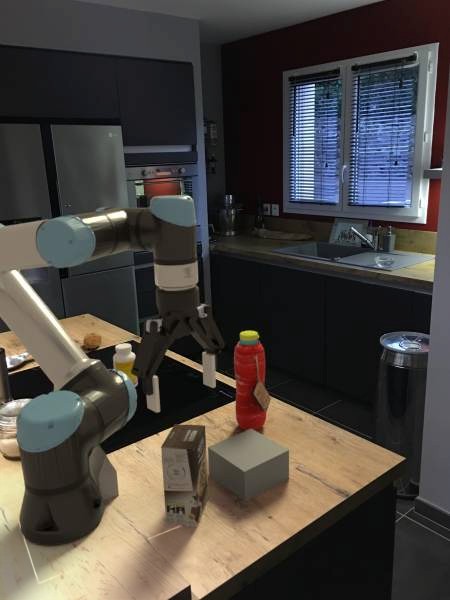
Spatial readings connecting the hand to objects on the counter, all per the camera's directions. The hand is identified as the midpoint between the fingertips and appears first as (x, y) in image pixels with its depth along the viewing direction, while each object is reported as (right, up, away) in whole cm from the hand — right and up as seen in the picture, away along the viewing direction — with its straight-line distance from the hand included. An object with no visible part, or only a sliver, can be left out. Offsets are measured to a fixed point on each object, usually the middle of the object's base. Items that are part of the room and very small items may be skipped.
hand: (183, 397), depth 97 cm
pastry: (-43, -1, +95) cm, 105 cm away
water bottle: (+15, -14, +34) cm, 40 cm away
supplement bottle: (-22, -8, +62) cm, 66 cm away
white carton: (-17, -22, +11) cm, 30 cm away
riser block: (+13, -20, +14) cm, 27 cm away
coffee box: (+1, -23, +4) cm, 23 cm away
